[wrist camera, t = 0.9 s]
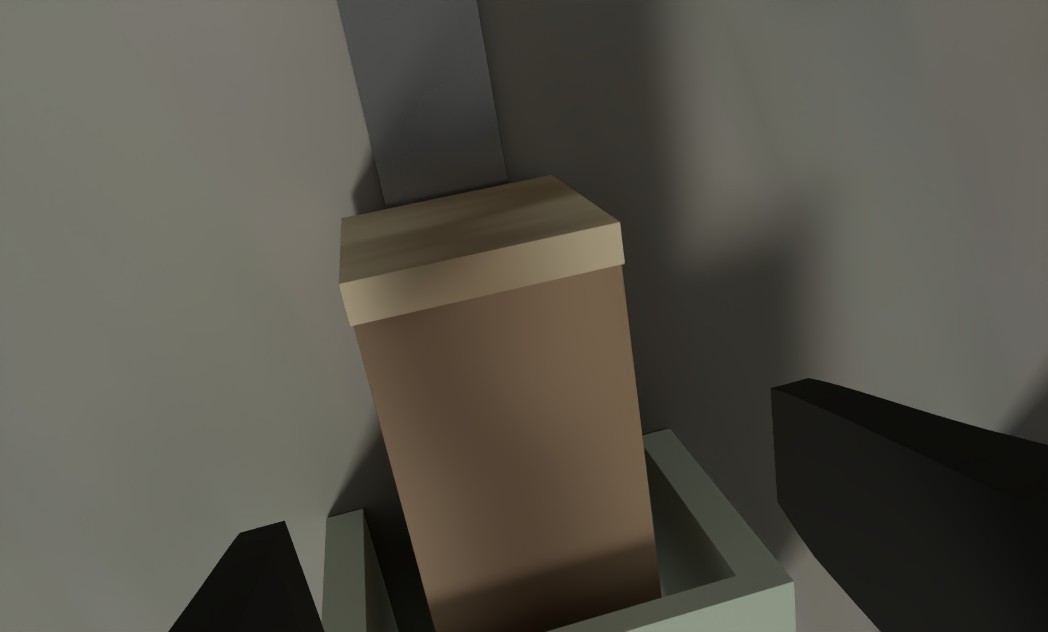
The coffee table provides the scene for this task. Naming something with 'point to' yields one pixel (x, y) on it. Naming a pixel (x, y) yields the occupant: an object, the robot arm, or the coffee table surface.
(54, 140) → the coffee table surface
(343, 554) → the tunnel
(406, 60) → the rail
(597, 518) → the brown rectangular box
